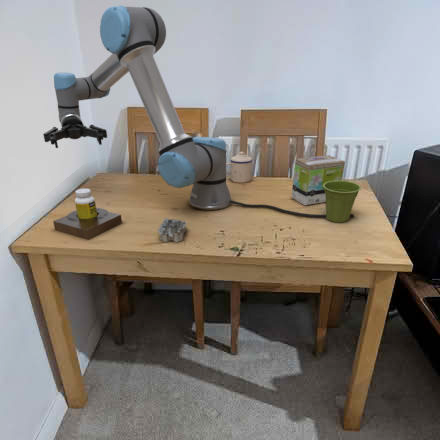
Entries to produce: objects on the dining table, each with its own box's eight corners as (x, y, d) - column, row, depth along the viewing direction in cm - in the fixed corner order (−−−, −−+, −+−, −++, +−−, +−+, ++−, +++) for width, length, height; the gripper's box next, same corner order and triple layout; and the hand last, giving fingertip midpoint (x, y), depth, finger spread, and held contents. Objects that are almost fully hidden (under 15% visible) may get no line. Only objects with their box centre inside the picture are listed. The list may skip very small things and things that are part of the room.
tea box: (305, 206, 148) (310, 165, 140) (290, 198, 155) (294, 158, 148) (339, 200, 153) (346, 160, 145) (323, 192, 161) (328, 153, 153)
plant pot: (311, 215, 140) (315, 183, 134) (340, 210, 144) (345, 178, 138) (333, 228, 131) (338, 193, 125) (362, 222, 135) (369, 188, 129)
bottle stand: (124, 222, 137) (123, 213, 135) (88, 239, 125) (86, 230, 124) (89, 213, 144) (88, 205, 142) (52, 229, 132) (50, 220, 131)
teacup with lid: (250, 176, 179) (251, 149, 173) (252, 183, 172) (253, 154, 165) (223, 177, 179) (223, 149, 173) (223, 183, 172) (223, 155, 165)
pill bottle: (95, 226, 134) (89, 193, 128) (76, 226, 134) (70, 193, 128) (100, 219, 139) (95, 187, 133) (82, 219, 139) (76, 187, 133)
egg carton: (181, 243, 123) (180, 230, 120) (157, 242, 123) (155, 229, 121) (188, 228, 132) (187, 216, 129) (165, 227, 132) (164, 215, 130)
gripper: (109, 134, 154) (119, 150, 138) (38, 139, 146) (39, 157, 130) (106, 113, 149) (116, 127, 133) (33, 117, 142) (34, 132, 126)
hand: (78, 142), depth 132 cm, fingers open, 13 cm apart
